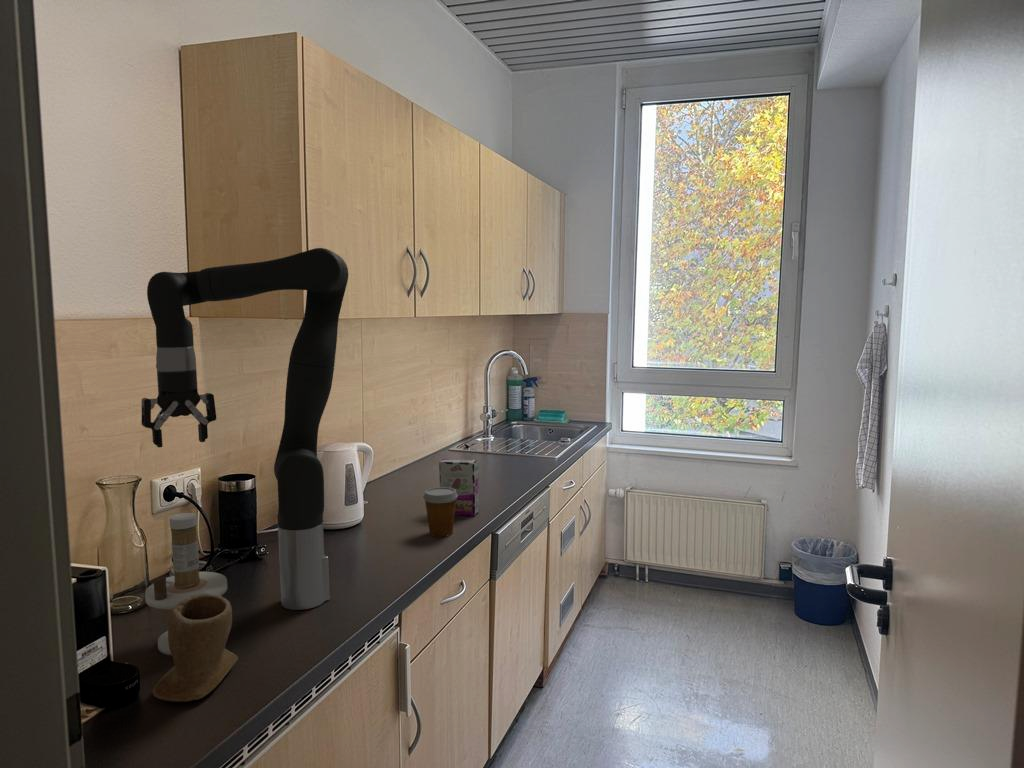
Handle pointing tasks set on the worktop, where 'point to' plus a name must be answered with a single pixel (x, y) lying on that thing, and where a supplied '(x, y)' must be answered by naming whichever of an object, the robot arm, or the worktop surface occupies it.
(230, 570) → the worktop surface
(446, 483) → the candy bar box
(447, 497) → the disposable coffee cup
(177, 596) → the turntable
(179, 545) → the sprinkles bottle
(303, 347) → the robot arm
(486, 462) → the worktop surface
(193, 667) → the stone cup
